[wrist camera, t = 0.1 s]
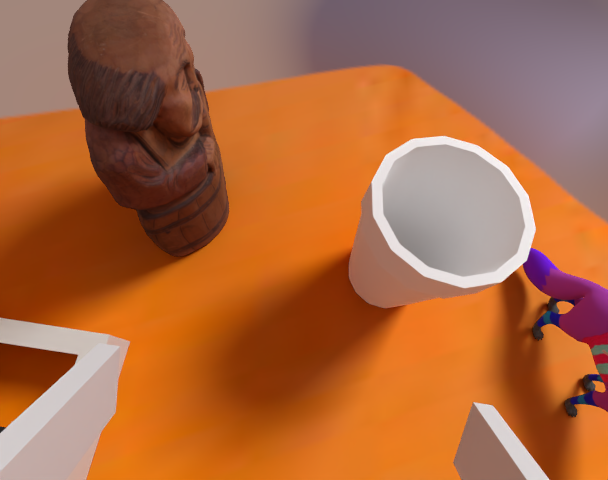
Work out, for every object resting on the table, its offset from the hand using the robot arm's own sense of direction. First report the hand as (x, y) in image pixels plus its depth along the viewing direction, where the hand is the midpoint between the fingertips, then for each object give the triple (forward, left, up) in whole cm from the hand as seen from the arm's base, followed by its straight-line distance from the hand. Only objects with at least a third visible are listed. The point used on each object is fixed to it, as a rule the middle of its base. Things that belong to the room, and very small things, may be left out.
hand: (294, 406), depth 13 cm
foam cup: (+11, -8, -16) cm, 21 cm away
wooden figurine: (+15, +10, -16) cm, 24 cm away
